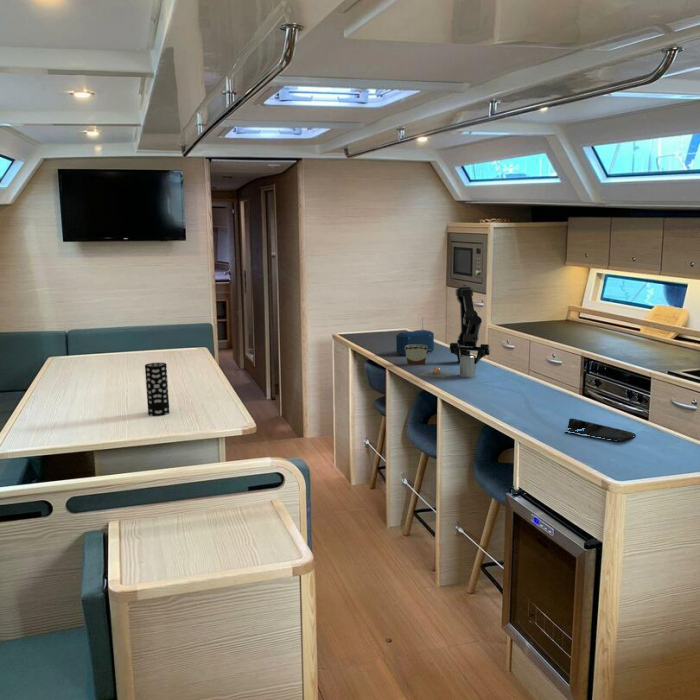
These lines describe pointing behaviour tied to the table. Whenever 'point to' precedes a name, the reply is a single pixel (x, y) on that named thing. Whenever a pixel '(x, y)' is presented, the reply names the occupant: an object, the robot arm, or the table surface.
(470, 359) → the steel cup
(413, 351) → the food container
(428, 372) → the grey mat
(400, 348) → the radio
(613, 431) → the black knife blade
